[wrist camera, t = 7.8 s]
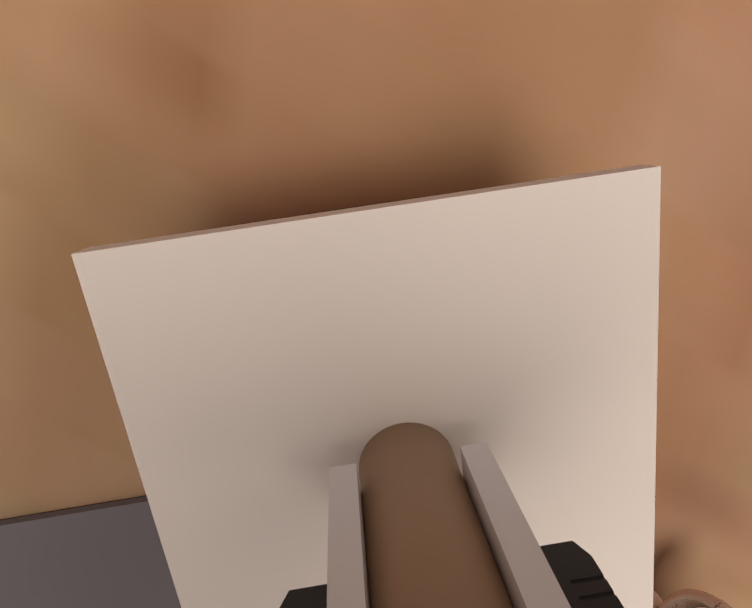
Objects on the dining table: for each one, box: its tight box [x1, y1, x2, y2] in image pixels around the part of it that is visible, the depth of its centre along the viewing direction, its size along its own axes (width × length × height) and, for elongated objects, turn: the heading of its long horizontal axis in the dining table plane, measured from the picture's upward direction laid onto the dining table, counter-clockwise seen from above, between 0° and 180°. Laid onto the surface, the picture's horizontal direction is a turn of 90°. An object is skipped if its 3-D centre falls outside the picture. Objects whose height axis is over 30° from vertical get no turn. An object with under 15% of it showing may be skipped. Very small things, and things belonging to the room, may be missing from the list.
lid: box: [71, 165, 661, 608], centre depth 13 cm, size 16×16×10 cm
